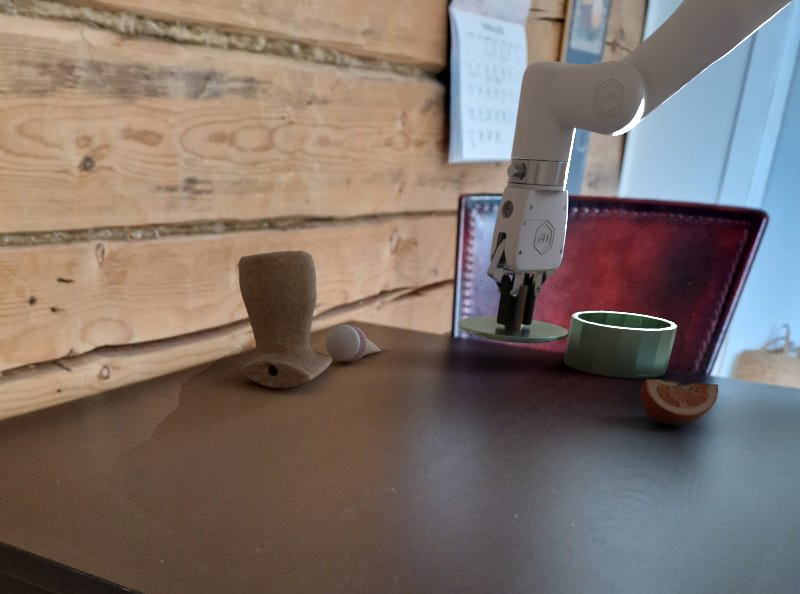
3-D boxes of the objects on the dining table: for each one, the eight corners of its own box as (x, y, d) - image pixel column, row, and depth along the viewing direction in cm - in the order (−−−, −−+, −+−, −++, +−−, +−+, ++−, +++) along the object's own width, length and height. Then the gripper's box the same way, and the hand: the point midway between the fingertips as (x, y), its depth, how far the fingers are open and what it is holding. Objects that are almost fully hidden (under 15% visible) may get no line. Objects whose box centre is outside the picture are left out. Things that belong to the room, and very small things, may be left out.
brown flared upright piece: (255, 360, 117) (256, 240, 109) (339, 370, 115) (346, 247, 107) (215, 385, 104) (213, 251, 97) (309, 396, 102) (315, 259, 94)
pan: (603, 352, 134) (613, 308, 131) (685, 372, 124) (697, 325, 121) (543, 360, 127) (551, 314, 123) (624, 382, 117) (636, 333, 113)
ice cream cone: (361, 354, 129) (312, 345, 116) (379, 327, 126) (331, 315, 114) (384, 373, 128) (337, 367, 115) (402, 346, 125) (356, 336, 113)
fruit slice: (697, 419, 102) (709, 376, 100) (718, 435, 96) (731, 390, 94) (627, 414, 102) (637, 372, 100) (644, 431, 96) (655, 386, 94)
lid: (508, 321, 131) (515, 274, 127) (589, 341, 120) (600, 291, 117) (435, 328, 122) (440, 278, 119) (515, 349, 112) (524, 296, 109)
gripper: (517, 176, 105) (493, 333, 114) (599, 180, 113) (571, 325, 122) (473, 172, 110) (454, 323, 119) (555, 176, 118) (531, 316, 128)
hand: (513, 323), depth 121 cm, fingers closed on lid, 2 cm apart
